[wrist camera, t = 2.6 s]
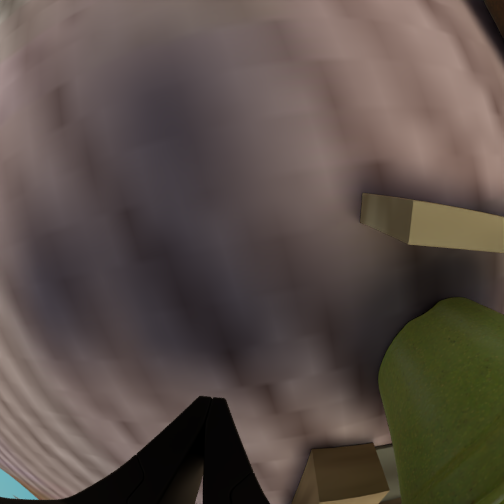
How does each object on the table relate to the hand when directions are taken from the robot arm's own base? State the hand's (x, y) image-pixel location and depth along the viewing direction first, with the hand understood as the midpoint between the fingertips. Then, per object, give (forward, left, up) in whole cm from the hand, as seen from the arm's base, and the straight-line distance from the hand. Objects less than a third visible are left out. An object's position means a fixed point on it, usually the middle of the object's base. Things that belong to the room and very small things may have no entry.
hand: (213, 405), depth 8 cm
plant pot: (0, -9, -3) cm, 10 cm away
